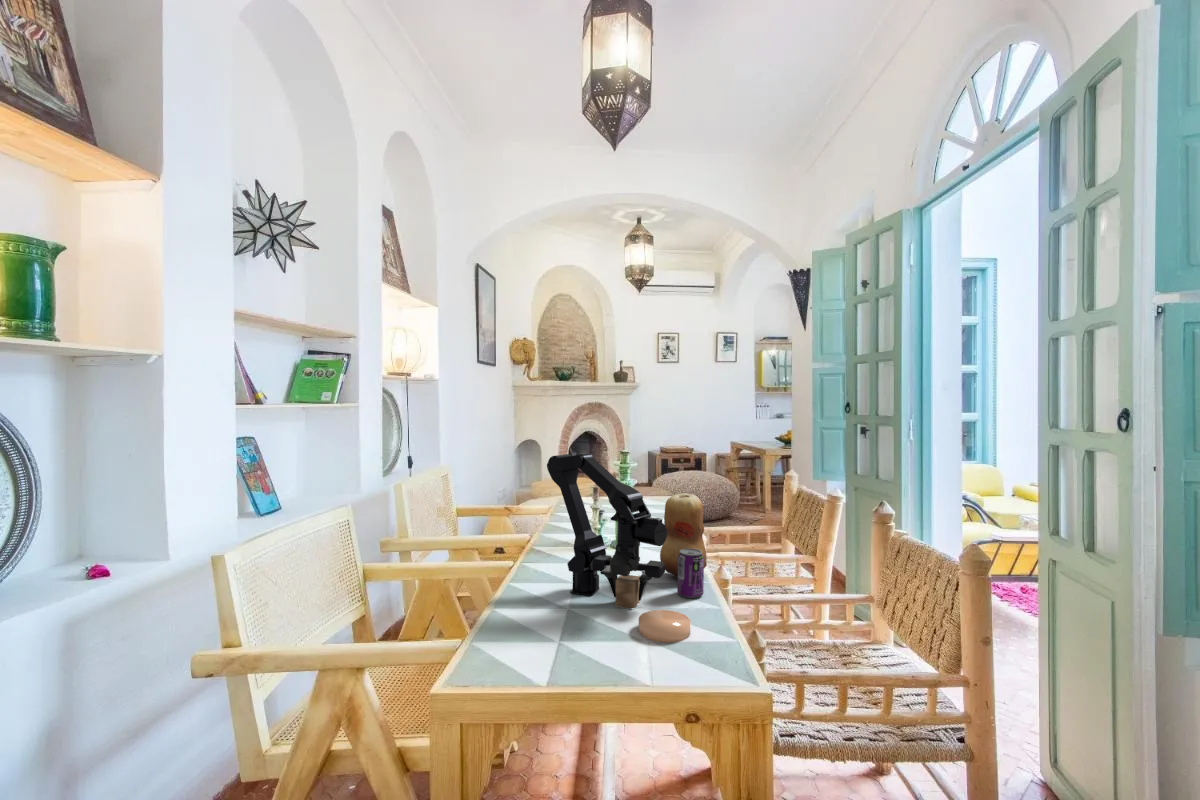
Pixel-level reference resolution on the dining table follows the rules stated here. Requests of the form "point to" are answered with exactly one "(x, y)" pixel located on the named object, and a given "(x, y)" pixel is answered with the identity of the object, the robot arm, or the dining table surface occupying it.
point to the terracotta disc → (664, 626)
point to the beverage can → (690, 573)
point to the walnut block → (627, 591)
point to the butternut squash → (682, 529)
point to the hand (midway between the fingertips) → (627, 598)
